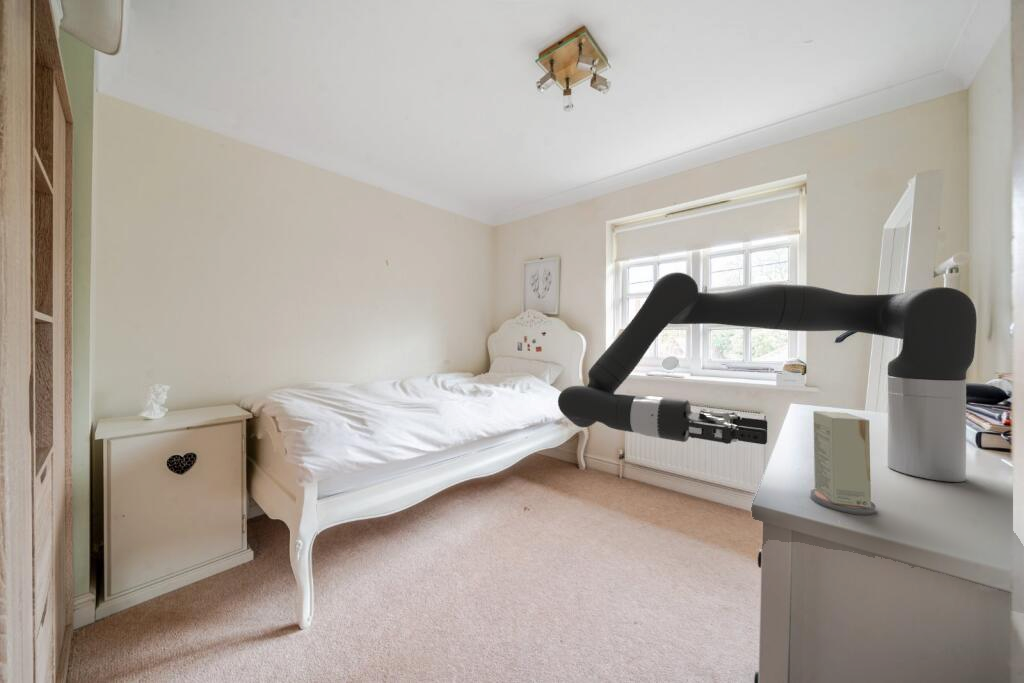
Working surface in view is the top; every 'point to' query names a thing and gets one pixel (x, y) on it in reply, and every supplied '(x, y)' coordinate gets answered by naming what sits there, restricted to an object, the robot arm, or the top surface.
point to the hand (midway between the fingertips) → (767, 431)
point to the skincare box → (842, 458)
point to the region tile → (841, 505)
